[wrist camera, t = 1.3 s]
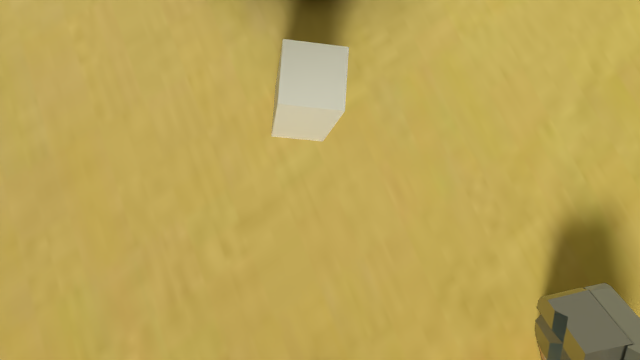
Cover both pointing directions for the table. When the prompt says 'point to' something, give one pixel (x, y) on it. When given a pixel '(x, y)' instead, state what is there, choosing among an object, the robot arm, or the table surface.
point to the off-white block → (309, 89)
